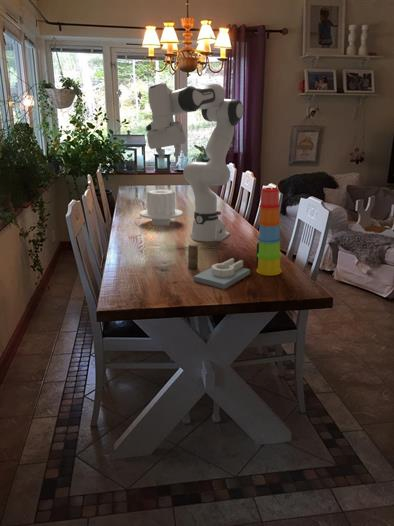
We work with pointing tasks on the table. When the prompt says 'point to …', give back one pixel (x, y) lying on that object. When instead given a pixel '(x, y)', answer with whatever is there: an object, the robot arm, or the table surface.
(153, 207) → the cake on stand
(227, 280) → the keyhole board
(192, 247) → the walnut dowel
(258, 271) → the stacking cups
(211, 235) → the robot arm
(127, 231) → the table surface
